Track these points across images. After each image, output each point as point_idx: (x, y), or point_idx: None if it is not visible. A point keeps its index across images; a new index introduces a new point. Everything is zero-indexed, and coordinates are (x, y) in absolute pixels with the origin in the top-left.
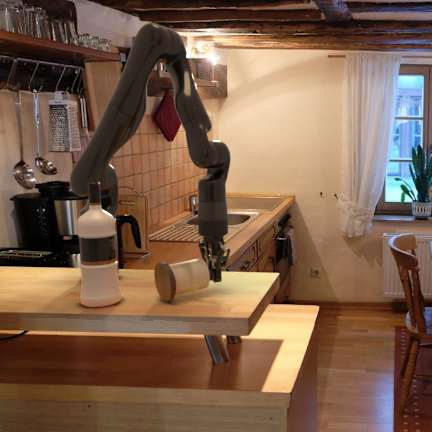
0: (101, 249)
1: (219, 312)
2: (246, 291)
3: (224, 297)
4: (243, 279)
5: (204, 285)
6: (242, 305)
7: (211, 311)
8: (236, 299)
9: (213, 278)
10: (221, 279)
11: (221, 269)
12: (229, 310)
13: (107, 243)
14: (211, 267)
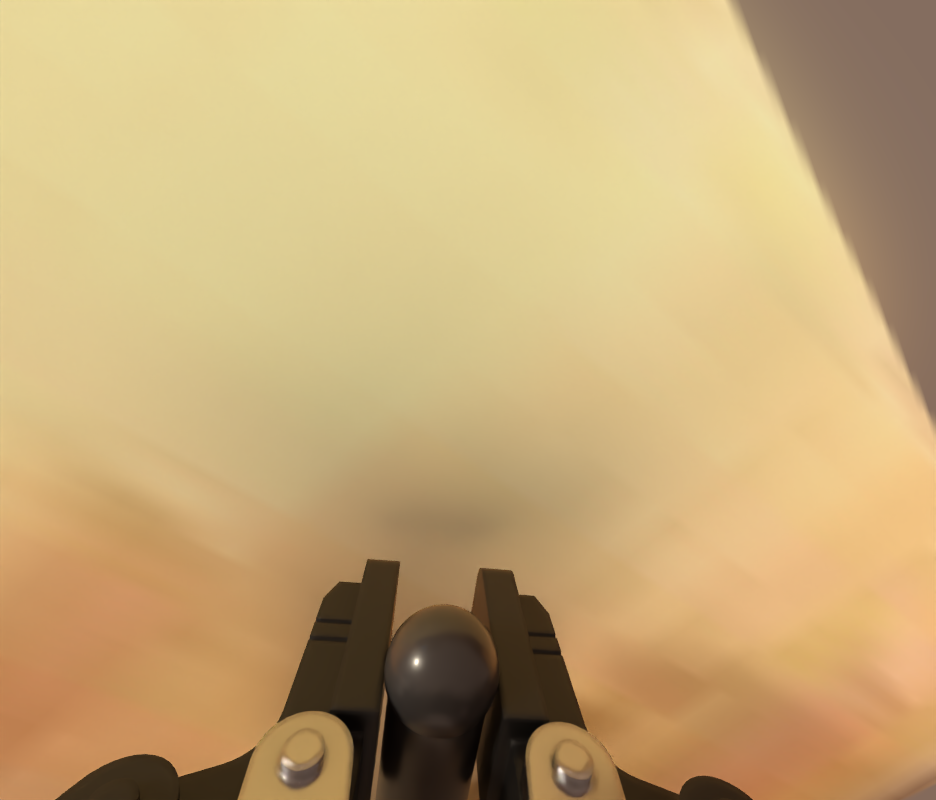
0: None
1: (862, 753)
2: (678, 349)
3: (651, 577)
4: (248, 18)
5: None
6: (906, 596)
7: (805, 772)
8: (770, 546)
9: None
10: (512, 577)
11: (494, 652)
12: (893, 700)
13: None
14: (369, 785)
